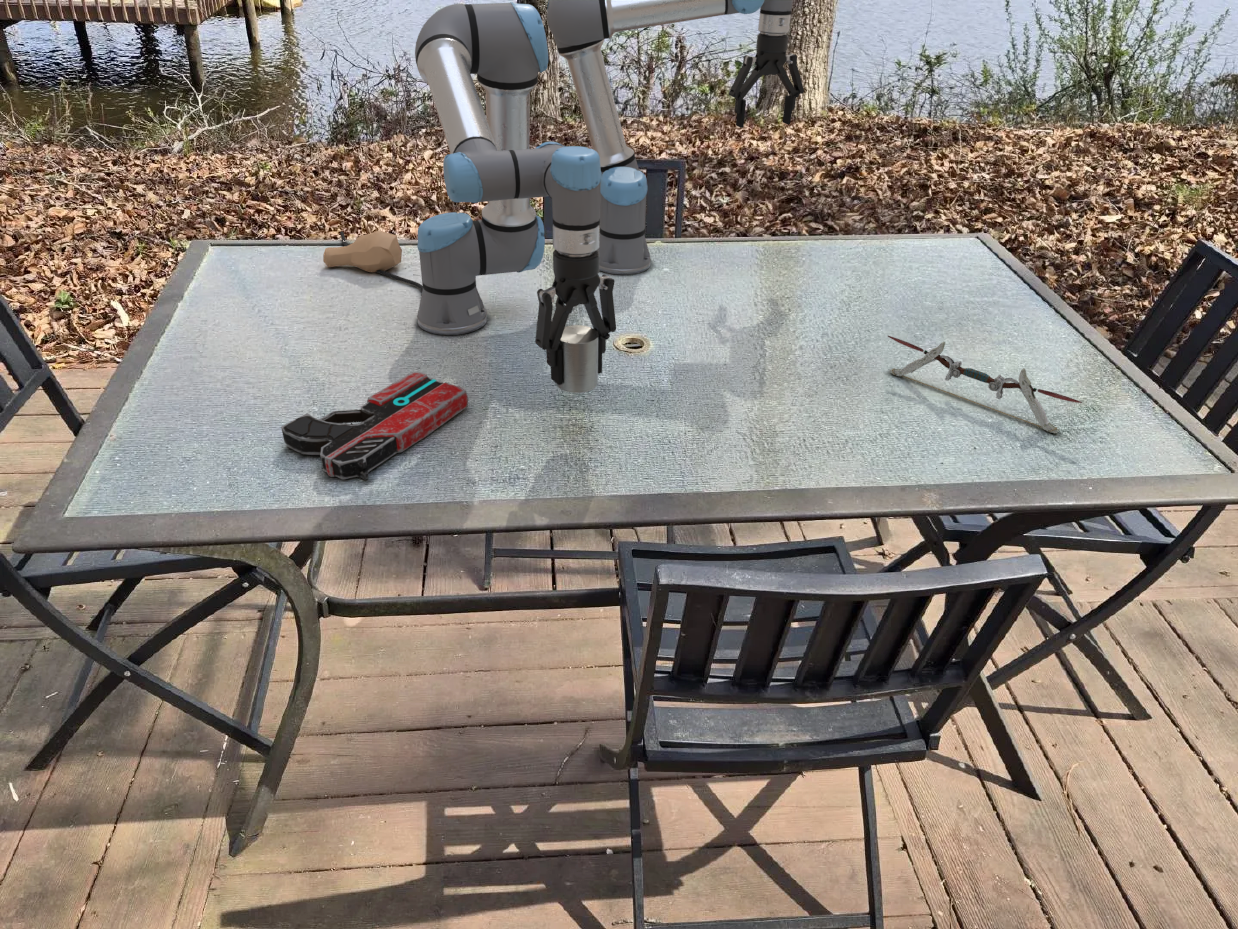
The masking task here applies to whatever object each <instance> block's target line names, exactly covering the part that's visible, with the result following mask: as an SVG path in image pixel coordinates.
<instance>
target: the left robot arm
mask: <svg viewBox="0 0 1238 929" xmlns="http://www.w3.org/2000/svg"><path fill="white" fill-rule="evenodd" d="M414 58H415V64H416V67H417V68H416V69H417V70H418V73H419V76H420V77H421V79H422V80H423V81H424V82H425V84H427V85H428V87H429V90H430V93H431V97H432V100H433V103H434V106H435V110H436V113H437V116H438V118H439V122H440V125H441V128H442V131H443V134H444V138H445V141H446V144H447V147H448V151H449V154H446V155H445V156H444V158H443V162H442V168H443V179H444V180H443V181H444V185H445V191H446V194H447V196H448V199H449V200H450V201H451V202H454V203H472V204H477V203H486V202H487V204H486V205H485V206H483V208H482V210H481V219H477V220H473V218H472V217H471V216H470V215H469V214H468V213H465V212H457V211H452V212H446V213H445V212H444V213H439V214H437V215H433V216H431V217H429V218H427V219H426V220H423V222H421V223H420V224H419V226H418V227H417V247H416V248H417V251H418V255H419V263H420V275H421V276H420V277H421V283H419V282H417V281H414V280H411V279H408V278H405V277H401V276H399V275H396V274H393V273H390V272H388V271H382V270H377V271H376V272H375V273H377V274H379V275H382V276H385V277H388V278H391V279H393V280H396V281H399V282H402V283H405V284H408V285H412V286H414V287H416V288H418V289H419V290H420V291H421V297H420V302H419V305H418V310H417V315H416V318H417V325H418V326H419V328H420V329H421V330H423V331H424V332H427V333H430V334H433V335H440V336H459V335H465V334H469V333H473V332H476V331H477V330H480V329H481V328H483V327H484V326H485V325H486V323H487V320H488V316H487V310H486V306H485V304H484V302H483V299H482V298H481V295H480V293H479V291H478V288H477V278H476V277H479V276H489V275H499V274H509V273H523V272H526V271H533V270H536V269H537V268H538V267H539V266H540V265H541V263H542V260H543V258H544V253H545V247H546V246H545V245H546V237H545V225H544V222H543V220H542V218H541V217H540V216H539V215H537V211H536V209H535V208H534V207H533V206H532V205H531V203H530V199H533V198H547V197H549V198H550V199H551V206H552V208H551V209H552V210H551V211H552V212H551V213H552V248H553V249H554V250H553V251H552V270H553V276H554V279H553V282H552V284H551V287H548V288H546V289H543V288H539V289H538V290H537V291H536V295H537V300H538V311H537V320H536V331H535V341H534V342H535V345H537V346H538V347H539V348H540V349H542V350H543V351H545V353H546V354H545V355H546V358H545V360H546V364H547V366H549V367H550V379H551V381H553V382H554V383H555V384H556V383H557V384H558V385H561V384H563V381H562V350H561V349H560V348H559V347H558V346H559V343H560V340H561V337H562V334H563V331H564V328H565V327H566V324H567V322H568V319H569V315H570V314H572V312H573V310H574V308H575V307H578V306H579V305H583V306H584V309H585V312H586V313H587V316H588V318H589V322H590V323H591V326H592V328H593V329H595V330H596V331H597V332H598V375H599V374H602V373H603V354H605V353H606V350H607V340H609V339H610V337H611V334H610V333H615V332H616V331H617V321H616V313H615V312H616V311H615V310H616V309H615V302H614V301H615V300H614V293H613V292H614V288H615V279H613V278H612V277H610V276H609V275H607V274H601V276H600V275H599V273H600V270H599V258H600V253H599V251H598V250H597V249H598V248H599V236H600V186H601V177H602V173H601V168H600V156H599V154H598V153H597V152H596V151H595V150H593V148H588V147H587V146H578V145H570V146H569V145H568V146H566V145H563V144H562V143H560V142H557V141H545V142H542V143H541V144H539V145H538V146H536V147H535V148H531V147H530V145H531V144H530V142H531V141H530V137H531V136H530V135H531V134H530V131H531V130H530V129H531V125H530V124H531V123H530V120H531V119H530V118H531V107H530V106H531V91H532V90H533V89H535V88H536V86H538V83H539V73H540V74H541V73H543V72H546V71H547V69H548V64H549V49H548V41H547V35H546V31H545V27H544V23H543V20H542V17H541V15H540V13H539V11H538V10H537V8H536V7H535V6H533V5H532V4H529V3H516V2H512V1H510V2H493V3H453V4H449V5H446V6H444V7H442V8H440V9H439V10H437V11H435V12H434V13H433V14H432V15H430V17H429V18H428V19H426V21H425V23H424V24H423V25H422V27H421V29H420V30H419V33H418V35H417V38H416V42H415V48H414ZM472 75H476V81H477V83H478V84H479V85H480V86H481V87H482V88H483V90H484V91H485V111H484V108H483V105H482V102H481V99H480V97H479V94H478V92H477V88H476V85H475V83H474V82H475V81H474V79H473V77H472ZM339 235H340V238H341V241H343V240H344V241H345V240H346V242H342V244H343V247H344V246H348V245H349V244H348V242H347V239H346V235H345V232H344V231H343V230H341V231H340V232H339ZM597 289H598V293H599V301H600V310H599V307H598V301H597V298H596V296H595V293H596V291H597ZM555 296H557V299H556V301H555ZM554 302H555V309H554V313H553V308H554V307H553V306H554V305H553V303H554ZM600 312H601V313H600Z"/></svg>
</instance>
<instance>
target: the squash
mask: <svg viewBox="0 0 1238 929" xmlns="http://www.w3.org/2000/svg"><path fill="white" fill-rule="evenodd" d="M347 245H348V246H344V245H343V246H337V247H335V246H334V247H333V246H332V247H330V246H329V247H325V248H324V251H323V255H322V262H323V263H324V264H325V265H326V267H328V268H334V267H341V266H342V267H343V266H349V267H355V268H358V269H360V270H362V271H364V272H368V273H377V272H376V271H377V270H382V271H385V272H387V271H388V270H389V269H391V268H394V267H395V266H398V265H399V264H400V263H402V256H403V255H402V254H403V249H402V246H400V244H399V239H398V236H397V235H396V234H392V233H391V232H390V233H389V232H387V231H383V230H376V231H374V232H371V233H367V234H362V235H359V237H357V238H355V240H354V241H353V242H352V243H350V244H347Z"/></svg>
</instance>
